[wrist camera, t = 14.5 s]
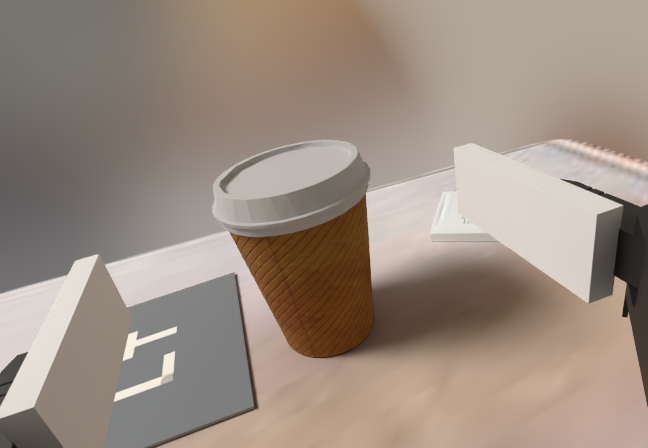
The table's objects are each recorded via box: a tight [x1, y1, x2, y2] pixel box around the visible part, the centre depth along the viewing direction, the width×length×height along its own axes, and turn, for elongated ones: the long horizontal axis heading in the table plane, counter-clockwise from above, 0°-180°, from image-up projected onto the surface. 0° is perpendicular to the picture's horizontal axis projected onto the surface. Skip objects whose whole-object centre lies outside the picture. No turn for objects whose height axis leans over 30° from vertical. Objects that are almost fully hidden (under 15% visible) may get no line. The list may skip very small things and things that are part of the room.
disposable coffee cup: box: [212, 140, 374, 357], centre depth 28 cm, size 10×10×12 cm
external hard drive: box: [430, 184, 590, 242], centre depth 37 cm, size 2×8×12 cm
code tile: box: [104, 273, 255, 448], centre depth 31 cm, size 15×16×1 cm
